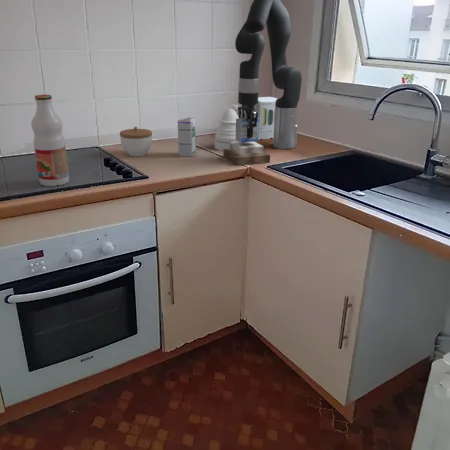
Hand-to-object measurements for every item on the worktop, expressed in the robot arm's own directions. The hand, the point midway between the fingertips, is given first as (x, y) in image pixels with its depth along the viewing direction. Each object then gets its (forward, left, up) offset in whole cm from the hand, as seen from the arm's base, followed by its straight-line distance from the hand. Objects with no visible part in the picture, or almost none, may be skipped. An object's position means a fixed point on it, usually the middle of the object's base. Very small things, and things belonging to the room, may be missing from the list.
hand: (246, 135), depth 180 cm
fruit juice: (+72, +7, -10) cm, 73 cm away
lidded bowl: (+39, -21, -10) cm, 45 cm away
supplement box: (-25, -36, -10) cm, 45 cm away
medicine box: (0, 0, -2) cm, 2 cm away
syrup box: (+20, -14, -10) cm, 26 cm away
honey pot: (-1, -20, -10) cm, 22 cm away
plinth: (0, 0, -9) cm, 9 cm away
